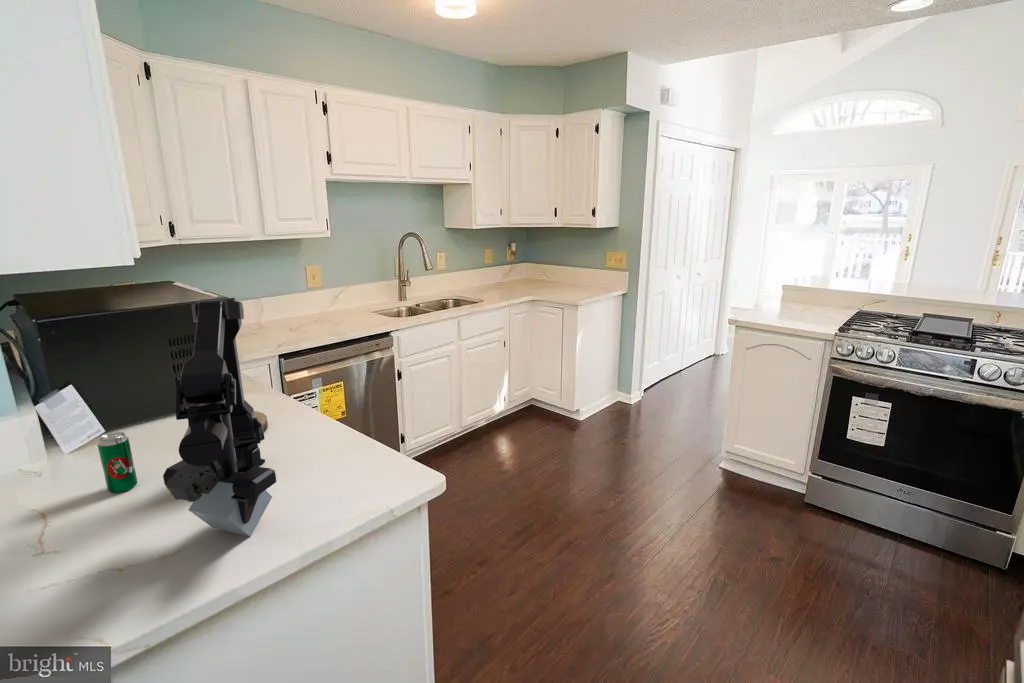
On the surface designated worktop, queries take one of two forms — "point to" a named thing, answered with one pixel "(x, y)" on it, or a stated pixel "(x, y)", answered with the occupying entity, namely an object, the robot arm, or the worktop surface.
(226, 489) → the matte gray cuboid
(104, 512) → the worktop surface
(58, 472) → the worktop surface
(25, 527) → the worktop surface
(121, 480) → the soda can
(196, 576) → the worktop surface
